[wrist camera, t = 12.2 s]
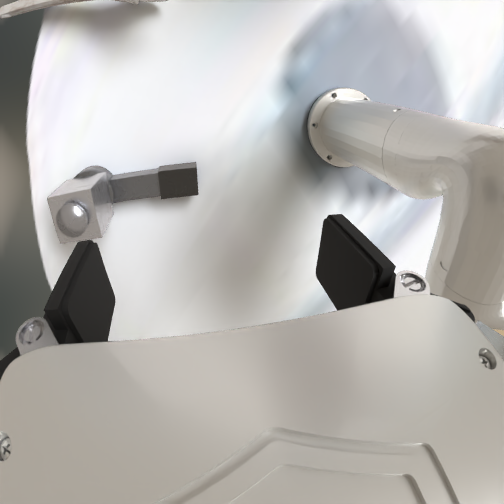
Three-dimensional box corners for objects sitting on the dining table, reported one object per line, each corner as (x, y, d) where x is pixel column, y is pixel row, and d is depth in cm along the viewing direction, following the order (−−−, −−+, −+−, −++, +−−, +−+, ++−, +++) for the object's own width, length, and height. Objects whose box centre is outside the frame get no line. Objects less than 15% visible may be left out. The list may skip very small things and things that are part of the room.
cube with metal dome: (105, 171, 30) (87, 191, 24) (113, 213, 34) (100, 241, 28) (66, 179, 29) (43, 201, 23) (76, 220, 33) (57, 247, 26)
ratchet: (195, 150, 35) (196, 164, 29) (198, 198, 39) (201, 221, 32) (70, 170, 31) (48, 188, 25) (80, 214, 35) (63, 239, 29)
